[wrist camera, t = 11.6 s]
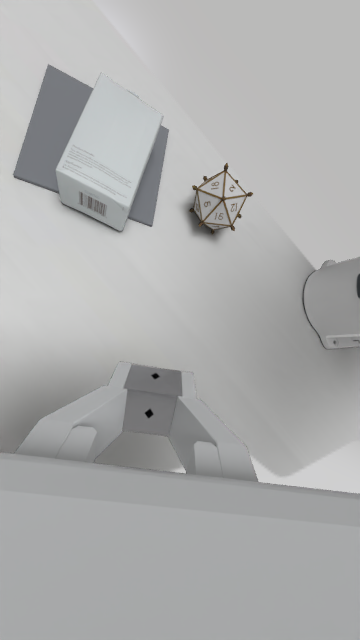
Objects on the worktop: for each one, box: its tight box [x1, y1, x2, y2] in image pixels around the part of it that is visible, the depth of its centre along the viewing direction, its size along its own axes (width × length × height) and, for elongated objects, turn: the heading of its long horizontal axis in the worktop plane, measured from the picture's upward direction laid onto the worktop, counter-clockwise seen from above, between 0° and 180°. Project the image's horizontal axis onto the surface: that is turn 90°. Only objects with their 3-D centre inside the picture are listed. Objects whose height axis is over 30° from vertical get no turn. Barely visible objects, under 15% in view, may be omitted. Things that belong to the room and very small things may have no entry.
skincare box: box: [56, 72, 164, 231], centre depth 28 cm, size 8×6×15 cm
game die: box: [189, 163, 253, 235], centre depth 33 cm, size 9×8×10 cm
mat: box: [13, 64, 169, 227], centre depth 30 cm, size 17×17×1 cm
